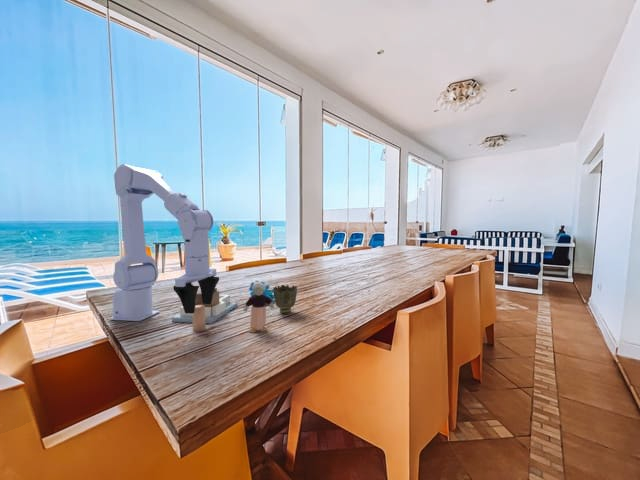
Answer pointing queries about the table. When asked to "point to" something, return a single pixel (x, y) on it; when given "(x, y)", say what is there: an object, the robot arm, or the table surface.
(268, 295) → the blue white lumpy piece
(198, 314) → the tail peg
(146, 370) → the table surface
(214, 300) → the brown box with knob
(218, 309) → the jig
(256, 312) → the grandmother figurine
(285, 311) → the cup
